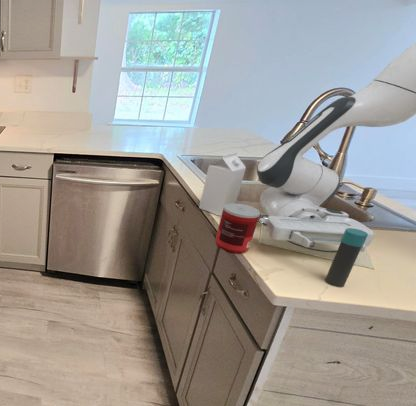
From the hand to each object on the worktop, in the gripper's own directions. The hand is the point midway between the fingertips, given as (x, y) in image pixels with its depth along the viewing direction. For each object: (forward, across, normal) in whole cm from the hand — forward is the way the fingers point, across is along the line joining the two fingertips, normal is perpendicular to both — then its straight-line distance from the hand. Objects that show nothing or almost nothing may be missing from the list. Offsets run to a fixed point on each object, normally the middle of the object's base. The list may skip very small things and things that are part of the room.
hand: (335, 247), depth 82 cm
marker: (+4, 0, +7) cm, 8 cm away
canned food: (-10, -16, +7) cm, 20 cm away
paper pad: (-18, +6, +7) cm, 20 cm away
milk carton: (-34, -12, +7) cm, 37 cm away
